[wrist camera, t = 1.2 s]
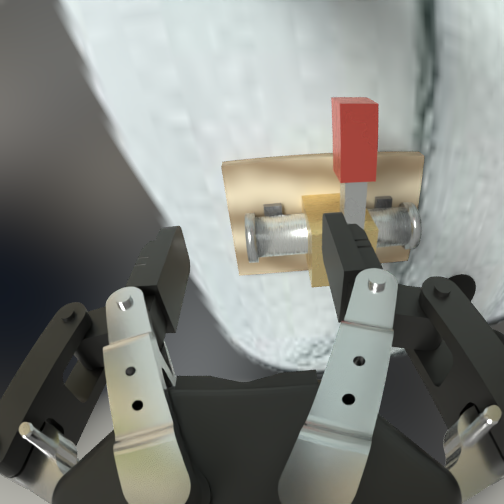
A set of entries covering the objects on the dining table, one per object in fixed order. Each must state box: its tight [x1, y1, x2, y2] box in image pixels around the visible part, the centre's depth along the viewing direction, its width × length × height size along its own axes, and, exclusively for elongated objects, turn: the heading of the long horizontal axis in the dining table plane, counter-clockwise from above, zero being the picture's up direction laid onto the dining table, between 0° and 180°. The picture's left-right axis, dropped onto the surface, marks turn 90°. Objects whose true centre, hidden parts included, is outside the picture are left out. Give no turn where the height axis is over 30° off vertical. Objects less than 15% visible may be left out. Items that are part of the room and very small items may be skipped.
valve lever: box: [331, 97, 378, 230], centre depth 25 cm, size 17×3×3 cm, turn 6°
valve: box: [245, 193, 421, 287], centre depth 34 cm, size 6×19×8 cm, turn 96°
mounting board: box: [221, 152, 424, 276], centre depth 38 cm, size 15×23×2 cm, turn 96°
